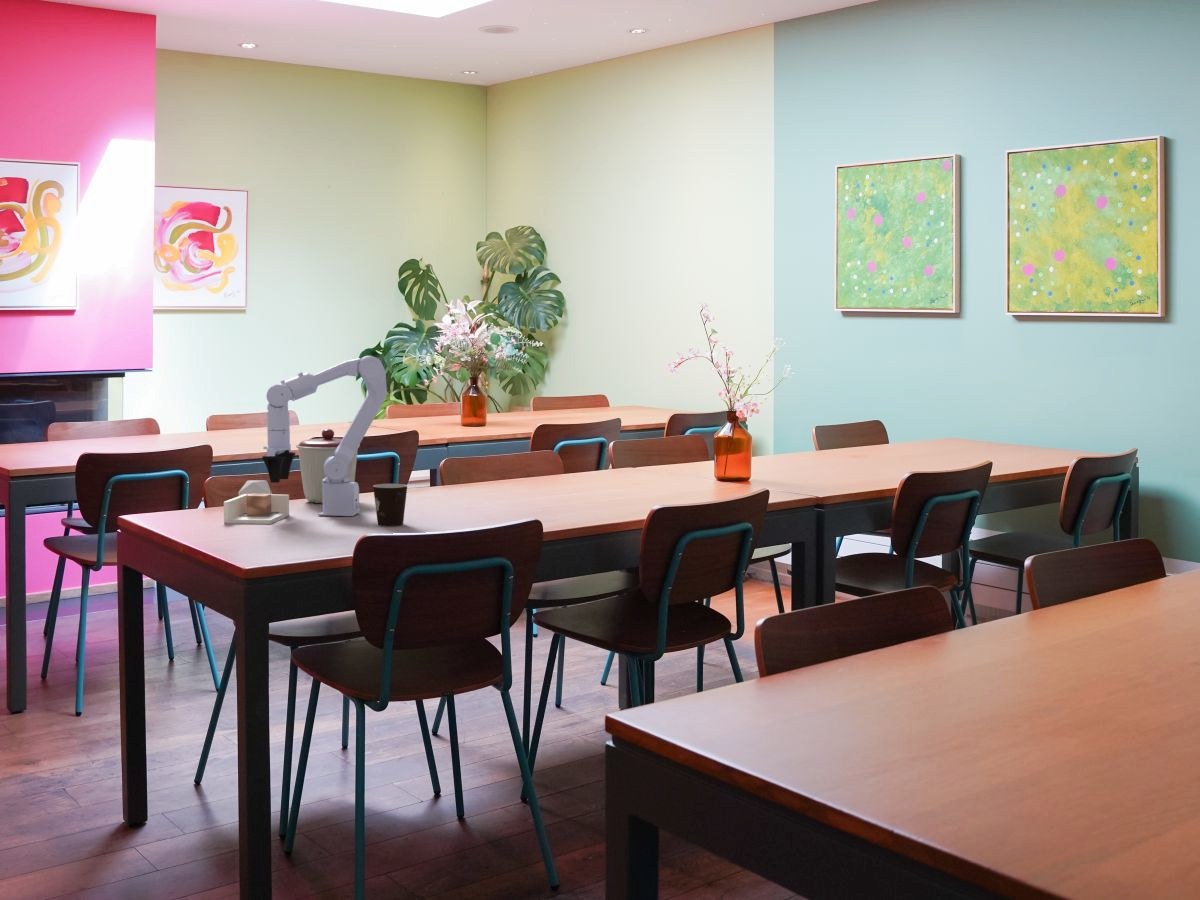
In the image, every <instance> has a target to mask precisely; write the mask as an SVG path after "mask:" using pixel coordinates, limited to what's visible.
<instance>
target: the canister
mask: <svg viewBox="0 0 1200 900" xmlns="http://www.w3.org/2000/svg"><path fill="white" fill-rule="evenodd" d="M334 436H335V431H334V430H332V428H324V429H323V430H322V432H321V437H322V438H321V437H319V438H310V439H305V440H302V441H300V442H299V443H298V444H296V445H295V448H297V449H298V457H299V467H300V474H301V482H302V488H303V489H302V490H303V494H304V497H305V499H306V500H307V501H308V502H309V503H313V502H314V503H313V504H323V487H322V482H323V481H322V480H323V479H325V477H326V475H325V472H324V462H325V460H326V459H327V458H328V457H330V456H331V455H332V454H333V453H334V452H335V450H336V448H337V447H338V446H339V444H340V442H341V441H342V439H343V438H336V437H334ZM360 447H361V445H360V444H359V446H358V448H360ZM358 448H357V449H356V451H355V453H354V455H353V458H352V460H351V462H350V464H349V469H348V474H347V476H346V477H347V478H349V479H350V482H355V480H356V471H357V470H356V469H357V460H358V459H357V458H358V450H359V449H358Z"/></svg>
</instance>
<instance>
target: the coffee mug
mask: <svg viewBox="0 0 1200 900" xmlns="http://www.w3.org/2000/svg"><path fill="white" fill-rule="evenodd" d="M372 486H373V495H374V496H373V497H374V503H375V504H374V505H375V512H376V521H377V525H378V526H379V527H401V526H403V525H404V521H405V520H404V519H405V518H404V517H405V508H406V500H407V493H408V492H407V491H408V485H407V484H402V483H381V484H379V483H378V484H374V485H372Z"/></svg>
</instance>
